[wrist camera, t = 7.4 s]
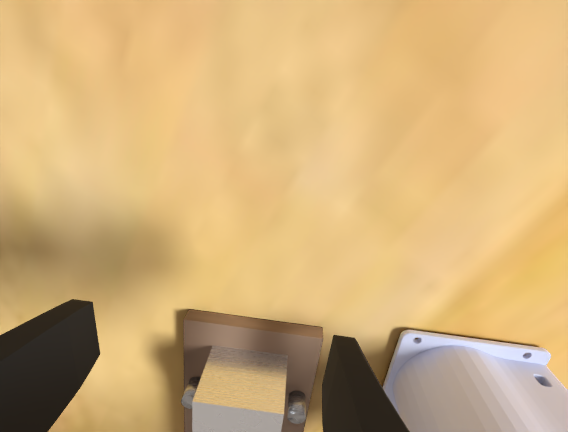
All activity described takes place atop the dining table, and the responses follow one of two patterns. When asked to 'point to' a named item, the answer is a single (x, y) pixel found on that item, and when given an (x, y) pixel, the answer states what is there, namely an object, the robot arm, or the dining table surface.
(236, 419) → the gray notched block
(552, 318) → the dining table surface
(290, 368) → the board
